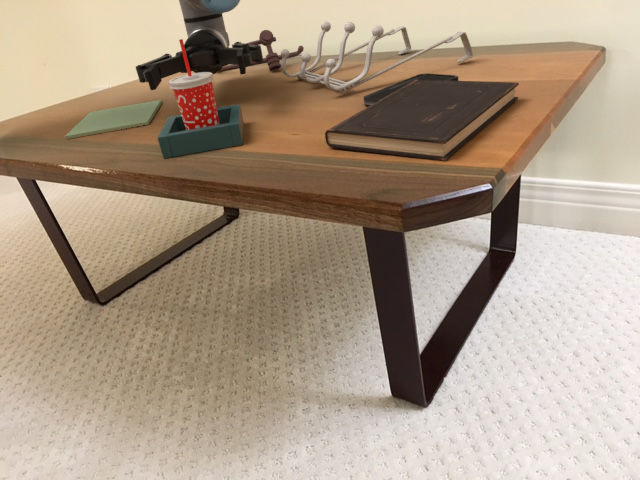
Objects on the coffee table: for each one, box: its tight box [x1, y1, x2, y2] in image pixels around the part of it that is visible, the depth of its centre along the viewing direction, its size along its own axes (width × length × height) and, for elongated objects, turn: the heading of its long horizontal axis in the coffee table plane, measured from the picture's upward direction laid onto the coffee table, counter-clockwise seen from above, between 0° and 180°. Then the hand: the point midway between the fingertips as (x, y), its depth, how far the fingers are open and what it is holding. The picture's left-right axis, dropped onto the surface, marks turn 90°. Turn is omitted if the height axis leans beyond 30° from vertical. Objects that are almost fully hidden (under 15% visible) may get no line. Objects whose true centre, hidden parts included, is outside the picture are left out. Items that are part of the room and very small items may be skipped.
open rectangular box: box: [157, 103, 245, 160], centre depth 78 cm, size 11×11×3 cm
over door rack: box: [280, 20, 474, 94], centre depth 99 cm, size 22×29×10 cm
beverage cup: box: [168, 38, 220, 130], centre depth 75 cm, size 6×6×14 cm
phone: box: [363, 73, 459, 107], centre depth 84 cm, size 8×1×15 cm
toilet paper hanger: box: [217, 29, 305, 73], centre depth 122 cm, size 22×8×14 cm
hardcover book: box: [324, 80, 520, 162], centre depth 70 cm, size 16×23×2 cm
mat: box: [64, 99, 163, 140], centre depth 98 cm, size 14×16×1 cm
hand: (195, 72), depth 80 cm, fingers open, 13 cm apart
